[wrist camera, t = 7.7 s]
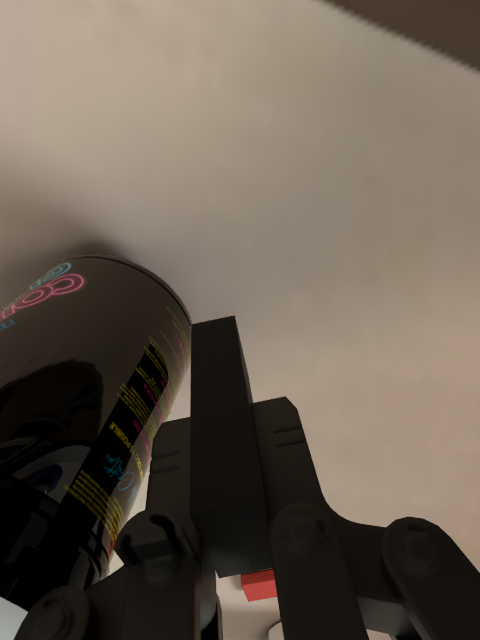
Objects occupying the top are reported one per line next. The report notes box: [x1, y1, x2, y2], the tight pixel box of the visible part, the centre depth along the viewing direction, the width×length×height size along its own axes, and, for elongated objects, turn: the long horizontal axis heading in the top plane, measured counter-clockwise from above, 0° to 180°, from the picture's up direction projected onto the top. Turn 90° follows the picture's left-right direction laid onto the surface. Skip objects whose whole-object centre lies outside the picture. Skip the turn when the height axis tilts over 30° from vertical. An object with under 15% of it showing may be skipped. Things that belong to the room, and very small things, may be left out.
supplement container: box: [0, 254, 192, 640], centre depth 12 cm, size 7×7×10 cm
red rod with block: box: [241, 569, 277, 601], centre depth 32 cm, size 15×3×1 cm, turn 100°
